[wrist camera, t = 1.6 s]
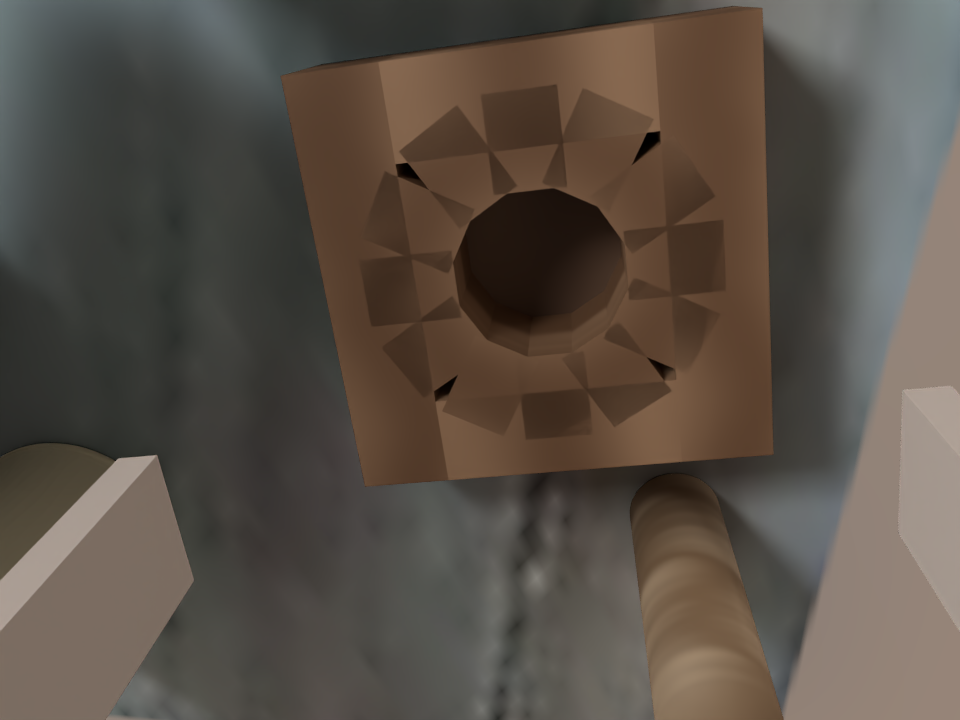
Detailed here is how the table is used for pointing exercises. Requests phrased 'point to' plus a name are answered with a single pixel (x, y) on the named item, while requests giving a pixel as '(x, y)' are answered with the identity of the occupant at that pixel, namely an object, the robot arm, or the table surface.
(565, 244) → the bore block
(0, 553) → the can
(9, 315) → the table surface
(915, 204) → the table surface
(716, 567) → the dowel pin
